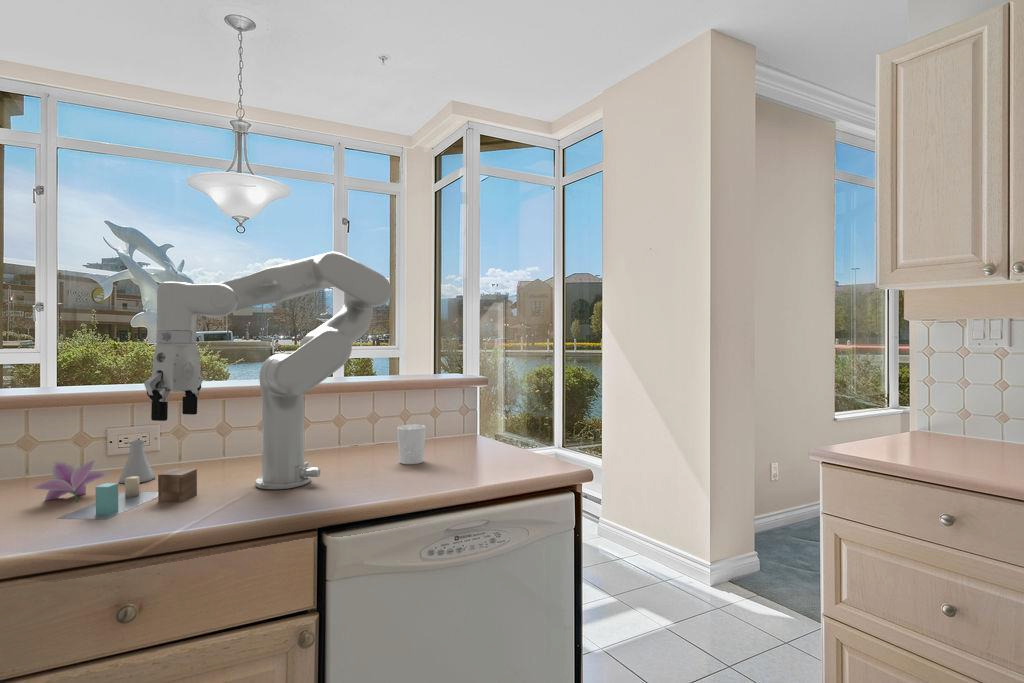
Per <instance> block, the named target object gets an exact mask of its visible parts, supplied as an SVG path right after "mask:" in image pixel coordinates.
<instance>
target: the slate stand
mask: <svg viewBox="0 0 1024 683" xmlns="http://www.w3.org/2000/svg"><path fill="white" fill-rule="evenodd" d="M124 488H125V489H124V490H125V491H123V492H121V493H118V511H116V512H114V513H111V514H109V515H101V514H96V502H94V503H93V504H90V505H87V506H84V507H82V508H79V509H77V510H74V511H72V512H69V513H67V514H64V515H62V516H59V517H56V519H57V520H58V519H60V520H64V519H65V520H100V521H101V520H103V521H104V520H105V521H106V520H109V519H111V518H113V517H115V516H118V515H120V514H123V513H124V512H128V511H129V510H131V509H134V508H136V507H138V506H140V505H143V504H146V503H148V502H150V501H152V500H154V499H157V498H158V491H140V490H141V489H140V483H139V476H132V477H127V478H125V484H124Z"/></svg>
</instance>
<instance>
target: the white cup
mask: <svg viewBox="0 0 1024 683" xmlns="http://www.w3.org/2000/svg"><path fill="white" fill-rule="evenodd" d="M425 443H426V425H424V424H403V425H402V424H401V425H399V426H397V447H398V449H397V450H398V453H399V454H398V459H399V460H398V462H399V463H400V464H403V465H417V464H421V463H423V462H424V454H425V453H424V452H425V445H426V444H425Z"/></svg>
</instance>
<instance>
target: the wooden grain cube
mask: <svg viewBox="0 0 1024 683" xmlns="http://www.w3.org/2000/svg"><path fill="white" fill-rule="evenodd" d="M157 479H158V480H157V492H158V497H157V498H158V500H157V502H158V503H183V502H186V501H187V500H188V501H189V500H190V499H191V498H194V497H196V496H197V495H198V469H197V468H176V467H175V468H172V469H169V470H166V471H164V472H162V473H158V474H157Z"/></svg>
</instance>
